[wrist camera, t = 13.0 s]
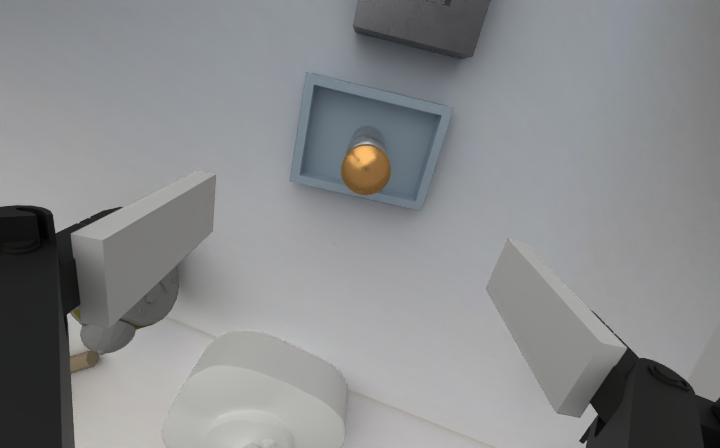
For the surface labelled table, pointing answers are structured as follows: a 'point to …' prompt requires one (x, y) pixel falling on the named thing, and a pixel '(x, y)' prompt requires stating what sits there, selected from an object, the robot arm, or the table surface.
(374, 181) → the steel pin
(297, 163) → the tray
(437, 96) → the table surface
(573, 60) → the table surface
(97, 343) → the alarm clock
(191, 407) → the tissue box
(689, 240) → the table surface
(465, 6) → the block
